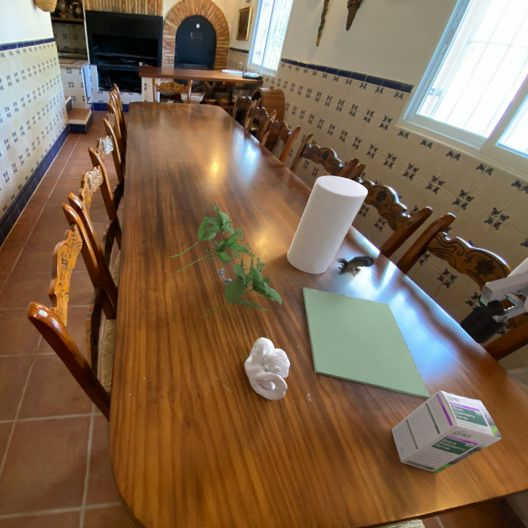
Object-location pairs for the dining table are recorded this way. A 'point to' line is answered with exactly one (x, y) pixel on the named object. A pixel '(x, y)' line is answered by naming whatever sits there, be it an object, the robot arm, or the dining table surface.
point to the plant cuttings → (236, 286)
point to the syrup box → (444, 432)
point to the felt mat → (360, 343)
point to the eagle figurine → (355, 264)
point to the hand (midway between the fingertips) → (505, 334)
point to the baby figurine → (267, 369)
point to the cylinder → (325, 223)
